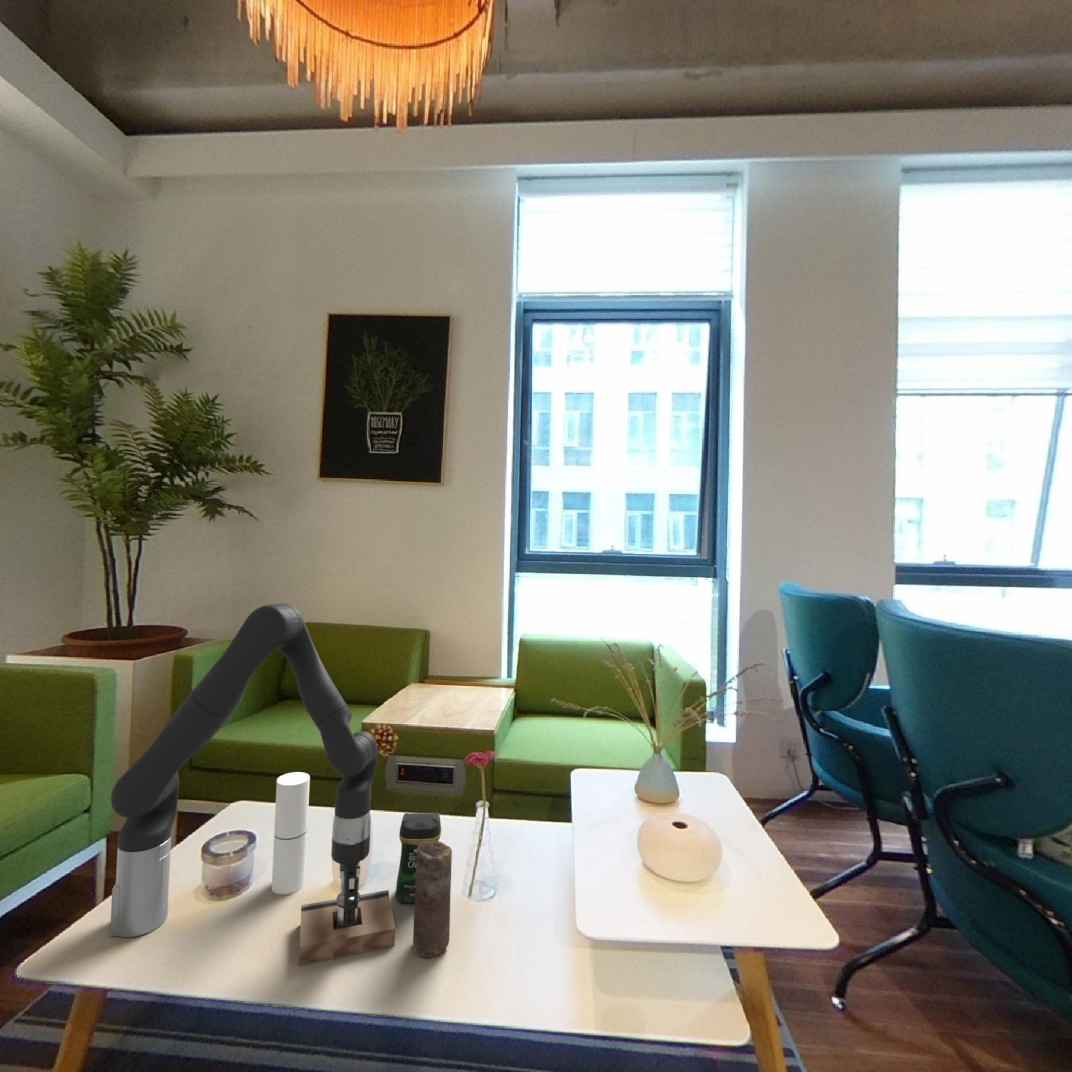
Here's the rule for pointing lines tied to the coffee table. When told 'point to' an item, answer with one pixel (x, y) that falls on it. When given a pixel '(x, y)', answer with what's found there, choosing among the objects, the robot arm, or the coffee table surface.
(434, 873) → the candle
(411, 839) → the coffee jar
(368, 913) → the jig
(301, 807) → the cylindrical container
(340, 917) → the salt shaker
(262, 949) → the coffee table surface
